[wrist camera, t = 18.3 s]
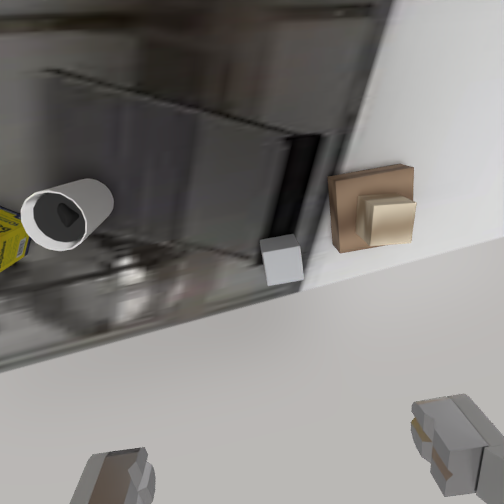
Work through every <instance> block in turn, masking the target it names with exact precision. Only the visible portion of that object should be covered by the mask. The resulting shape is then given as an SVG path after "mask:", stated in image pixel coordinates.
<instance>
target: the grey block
mask: <svg viewBox="0 0 504 504" xmlns="http://www.w3.org/2000/svg"><path fill="white" fill-rule="evenodd" d="M260 246H261V252H262V258H263V264H264V270H265V274H266V279H267V283H268V286H271V285H276V284H282V283H287V282H293V281H299V280H304V275H303V266H302V258H301V250H300V245H299V243H298V241H297V240H296V238H295V236H294V234H290V235H284V236H279V237H273V238H268V239H262V240H260Z"/></svg>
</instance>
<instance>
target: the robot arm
mask: <svg viewBox="0 0 504 504" xmlns="http://www.w3.org/2000/svg"><path fill="white" fill-rule="evenodd" d="M412 413H413V414H414V416H415V418H414V419H413V420H412V422H411V433H412V436H413V440H414V443H415V445H416V447H417V449H418V451H419V453H420V455H421V456H422V457H423V458H424V459H426V460H427V461H429V462H430V463H431V471H430V472H431V474H432V476H433V478H434V479H435V481H436V483H437V485H438V486H439V488H440V490H441V491H442V493H443V495H444V497H448V496H456V495H463V494H470V493H476V495H477V496H478V497H480V498H481V499H482V500H483V501H484V502H486V503H487V504H504V436H503V435H502V434H501V433H500V431H499V430H498V429H497V428H496V427H495V426H494V425H493V423H491V421H490V420H489V419H488V418H487V417H486V416H485V414H484V413H483V412H482V411H481V410H480V409H479V407H478V406H477V405H476V404H475V403H474V402H473V401H472V400H471V398H470V397H469V396H467V395H466V394H459V395H453V396H447V397H439V398H433V399H428V400H422V401H416V402H414V403H413V404H412ZM147 456H148V454H147V451H146V449H145V447H142V448H135V449H127V450H120V451H113V452H106V453H99V454H93V455H92V456H91V457H90V459H89V460H88V461H87V464H86V466H85V468H84V471H83V473H82V476H81V478H80V480H79V483H78V485H77V487H76V490H75V492H74V495H73V497H72V499H71V502H70V504H151V503H152V502H153V498H154V493H155V472H154V468H153V466H152V464H150V463H149V462H147V461H146V460H147Z"/></svg>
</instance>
